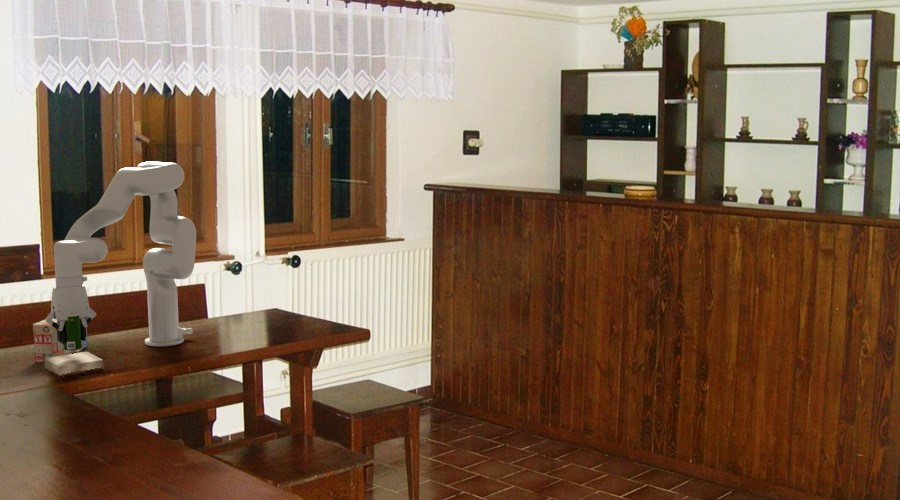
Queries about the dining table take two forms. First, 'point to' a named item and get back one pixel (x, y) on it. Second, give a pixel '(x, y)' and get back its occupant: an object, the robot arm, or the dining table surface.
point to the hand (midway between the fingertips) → (72, 340)
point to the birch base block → (73, 362)
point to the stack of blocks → (48, 341)
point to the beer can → (73, 333)
